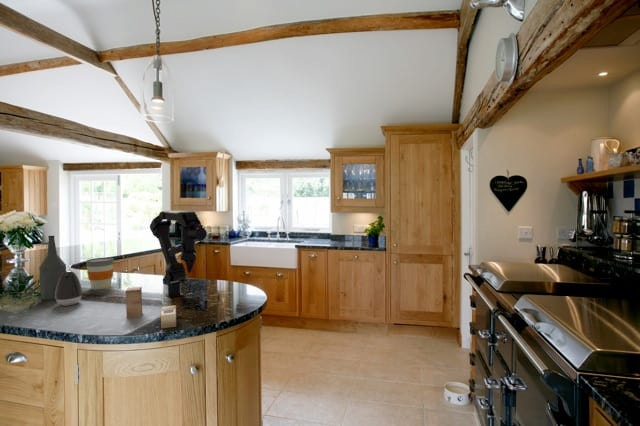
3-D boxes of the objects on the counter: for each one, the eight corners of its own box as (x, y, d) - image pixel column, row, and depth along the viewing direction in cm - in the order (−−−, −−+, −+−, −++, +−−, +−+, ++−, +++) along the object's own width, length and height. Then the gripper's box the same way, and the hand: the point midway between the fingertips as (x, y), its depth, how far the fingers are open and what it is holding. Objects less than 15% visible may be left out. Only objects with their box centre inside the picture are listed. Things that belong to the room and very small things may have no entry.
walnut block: (128, 314, 146) (127, 287, 146) (142, 312, 148) (141, 286, 148) (126, 318, 142) (125, 290, 141) (140, 316, 143) (139, 289, 143)
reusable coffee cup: (115, 287, 189) (114, 259, 188) (87, 291, 182) (86, 262, 181) (113, 283, 199) (112, 256, 199) (87, 286, 192) (85, 259, 192)
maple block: (161, 306, 140) (160, 315, 130) (175, 305, 142) (175, 313, 132) (162, 319, 141) (161, 328, 130) (176, 317, 142) (176, 326, 132)
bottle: (43, 301, 165) (39, 237, 164) (38, 297, 172) (35, 235, 171) (69, 296, 173) (66, 235, 172) (64, 293, 180) (61, 233, 178)
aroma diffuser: (53, 309, 154) (51, 274, 153) (57, 302, 163) (56, 270, 163) (81, 305, 159) (79, 271, 158) (84, 299, 168) (82, 267, 167)
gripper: (170, 237, 170) (171, 269, 171) (167, 242, 152) (168, 278, 153) (195, 236, 173) (196, 268, 174) (195, 240, 156) (196, 276, 157)
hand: (189, 272), depth 164 cm, fingers closed
